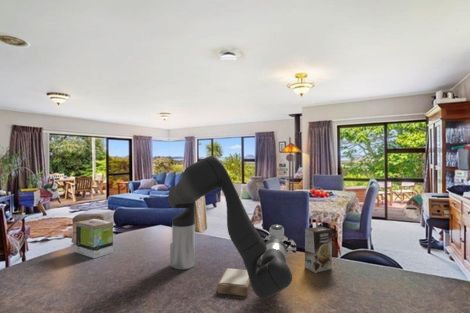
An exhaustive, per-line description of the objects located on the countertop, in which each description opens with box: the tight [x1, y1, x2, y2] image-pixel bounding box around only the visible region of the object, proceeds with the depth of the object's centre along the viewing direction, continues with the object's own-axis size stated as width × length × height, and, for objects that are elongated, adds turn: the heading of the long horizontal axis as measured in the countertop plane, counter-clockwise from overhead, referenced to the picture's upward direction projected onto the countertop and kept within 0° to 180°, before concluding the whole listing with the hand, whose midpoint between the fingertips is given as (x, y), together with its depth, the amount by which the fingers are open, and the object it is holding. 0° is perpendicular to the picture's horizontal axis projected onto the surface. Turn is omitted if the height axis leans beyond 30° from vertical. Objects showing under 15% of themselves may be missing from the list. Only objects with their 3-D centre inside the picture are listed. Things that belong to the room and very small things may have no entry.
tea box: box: [75, 218, 114, 259], centre depth 130 cm, size 15×10×15 cm, turn 58°
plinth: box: [217, 267, 252, 297], centre depth 97 cm, size 10×13×3 cm
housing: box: [269, 224, 285, 240], centre depth 99 cm, size 5×5×13 cm
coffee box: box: [304, 226, 333, 274], centre depth 112 cm, size 9×6×16 cm
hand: (276, 238), depth 102 cm, fingers closed on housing, 5 cm apart
